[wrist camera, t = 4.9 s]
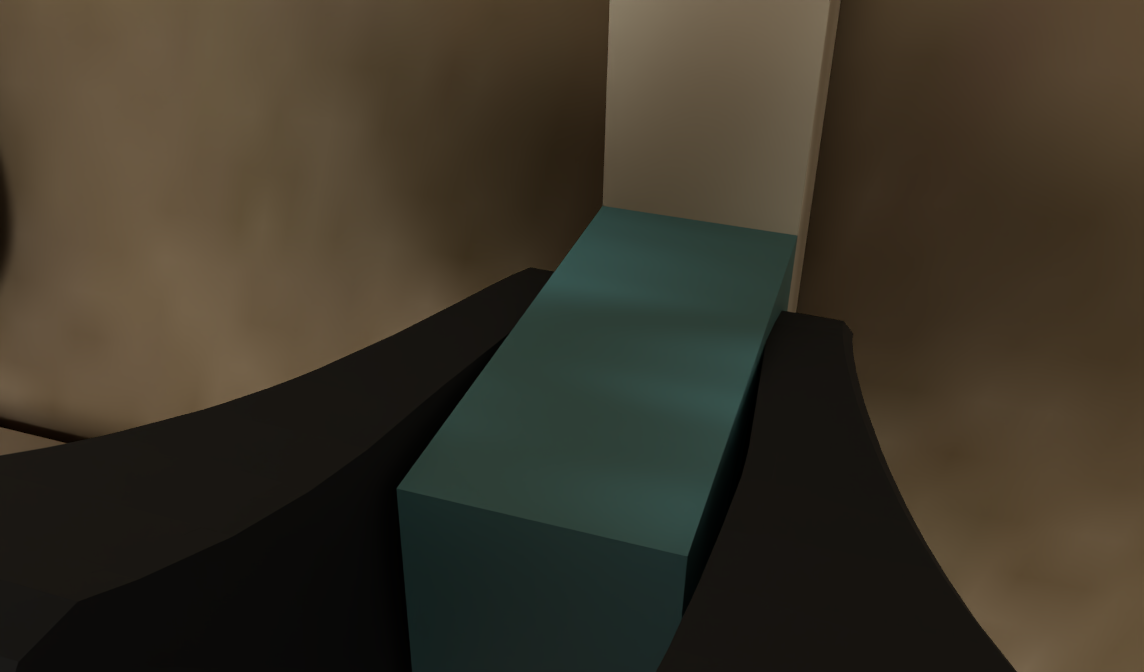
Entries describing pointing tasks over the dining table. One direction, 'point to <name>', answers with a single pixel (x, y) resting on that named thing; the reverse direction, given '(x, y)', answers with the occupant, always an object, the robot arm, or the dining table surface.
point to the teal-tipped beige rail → (625, 358)
